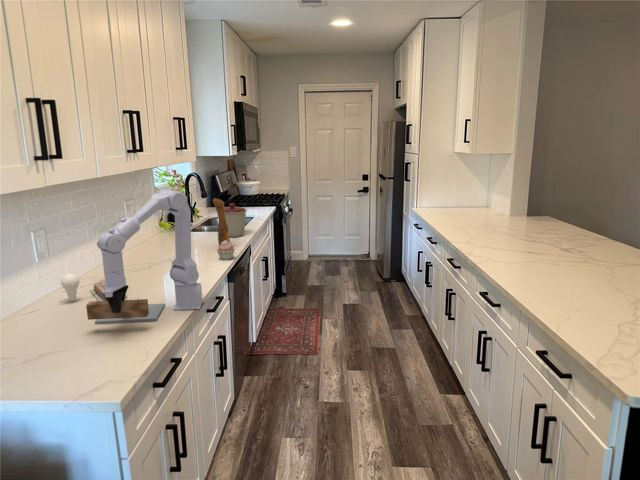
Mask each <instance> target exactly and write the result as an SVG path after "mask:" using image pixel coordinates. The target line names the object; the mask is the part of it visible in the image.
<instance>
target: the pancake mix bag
mask: <svg viewBox="0 0 640 480" xmlns="http://www.w3.org/2000/svg"><path fill="white" fill-rule="evenodd" d="M212 203H213V205H214V208H215V210H216V213H217V219H218V224H217V226H218V229H217V241H218V247H219V246H220V245H221V243H222V242H223V241H225V240H226V241H228V243H231V239H230V237H229V233H228V227H227V222H226V218H225V211H224V207H225V202H224V201H223V200H222V199H219V198H215V197H214V198H213V199H212Z"/></svg>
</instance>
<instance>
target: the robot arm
mask: <svg viewBox="0 0 640 480" xmlns="http://www.w3.org/2000/svg"><path fill="white" fill-rule="evenodd" d="M158 211H168V212H170V214H172V215H174V239H175V248H174V249H175V258H174V259H173V260H172V261H171V267H170V270H169V277H170V279H171V280H173V283H174V293H175V305H174V307H173V311H181V310H183V311H185V310H200V309H201V307H202V304H203V291H202V289H203V288H202V283H201V282H198V281H199V277H200V276H199V275H200V274H199V271H198V269H197V263H196V262H195V261H194V260H193V258H192V217H191V215H192V212H191V208H190V206H189V203H188V196H187V195H185V194H184V193H183V192H182V191H179V190H169V189H163V188H161V189H159V190H157V192H155V193H154V194H152V196H151V198H150V199H149V200H148V201H147V202H145V204H144V205H143V206H142V207H141V208H140V209H138V210H137V212H135V214H134V215H132V216H126V217H121V219H120V222H118V223H117V224H116V225H115V226H114V227H113V228H110V229H109V230H108V232H104V233H102V234H101V235H100V236H99V237H98V239H97V242H96V246H97V248H98V249H99V250H100V252H101V256H102V265H103V266H102V267H103V274H104V280H105V283H103V284H102V287H105V291H104V292H105V293H104V294H103V295H104V297H105V298H106V300H107V301H108V303H109V305H110V307H111V309H112V312H113V313H120V311H121V300H126V299H125V296H126V295H127V292H128V290H129V285H127V280H126V278H127V277H126V276H125V268H124V260H123V251H124V249H125V247H126V244H127V242H128V240H130V239H132V237H133V236H134V235H135V234H137V233H138V232H139V231H140V230H141V224H143V223H144V222H145V221H147V220H148V219H150V218H151V216H153V215H154V214H156V213H157V212H158Z"/></svg>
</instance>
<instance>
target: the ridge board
mask: <svg viewBox="0 0 640 480" xmlns="http://www.w3.org/2000/svg"><path fill="white" fill-rule="evenodd" d="M139 298H140V297H131V298H130V300H140V299H139ZM165 307H166V304H165V303H148V309H149V314H148V316H147V317H136V318H114V319H95V320H94V325H104V324H105V325H108V324H109V325H110V324H128V323H148V322H149V323H150V322H157V321H158V319H159V318H160V316H161V314H162V313H163V310H164V308H165Z"/></svg>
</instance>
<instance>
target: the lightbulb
mask: <svg viewBox="0 0 640 480" xmlns="http://www.w3.org/2000/svg"><path fill="white" fill-rule="evenodd" d="M60 285H61V287H62V288H63V289H64V290H65V292H66V295H67V297H68V301H69V302H75V301H77V293H78V287H79V285H80V278H79V276H77V275H76V274H74V273H67V274H65V275H63V277H62V278H61V280H60Z"/></svg>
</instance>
